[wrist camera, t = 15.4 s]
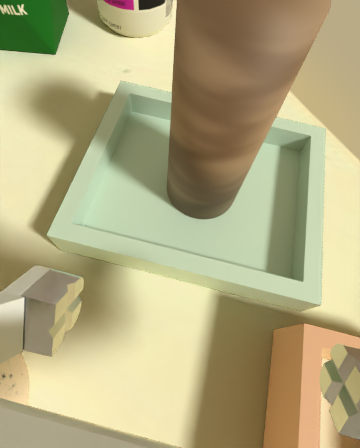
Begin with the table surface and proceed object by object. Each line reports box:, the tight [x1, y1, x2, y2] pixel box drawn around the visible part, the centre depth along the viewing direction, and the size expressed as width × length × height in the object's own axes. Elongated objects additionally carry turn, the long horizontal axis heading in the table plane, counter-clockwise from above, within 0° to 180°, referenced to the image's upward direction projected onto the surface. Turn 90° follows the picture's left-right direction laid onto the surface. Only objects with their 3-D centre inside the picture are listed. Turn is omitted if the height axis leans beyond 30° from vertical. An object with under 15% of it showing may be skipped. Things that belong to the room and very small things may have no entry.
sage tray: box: [47, 81, 326, 311], centre depth 22 cm, size 18×15×3 cm
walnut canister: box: [167, 0, 331, 219], centre depth 17 cm, size 6×6×14 cm
